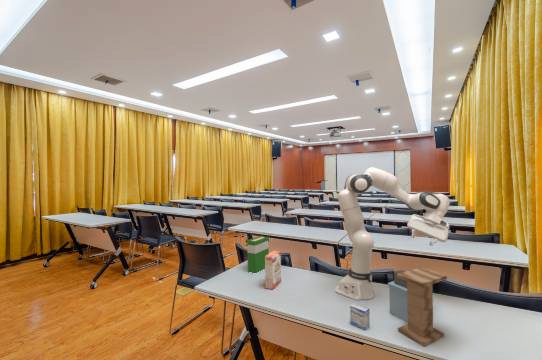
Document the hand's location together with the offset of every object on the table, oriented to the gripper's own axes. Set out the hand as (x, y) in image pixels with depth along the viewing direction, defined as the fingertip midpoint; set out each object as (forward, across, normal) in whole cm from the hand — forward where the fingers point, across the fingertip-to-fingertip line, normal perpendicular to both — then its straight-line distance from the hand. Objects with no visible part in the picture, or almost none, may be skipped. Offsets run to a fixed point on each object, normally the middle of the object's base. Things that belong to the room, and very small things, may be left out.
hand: (421, 241), depth 142 cm
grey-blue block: (+38, +9, 0) cm, 39 cm away
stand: (+42, +18, -13) cm, 48 cm away
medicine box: (+56, -4, -20) cm, 59 cm away
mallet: (+22, +6, -4) cm, 23 cm away
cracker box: (+69, -62, -5) cm, 93 cm away
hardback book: (+70, -90, +11) cm, 114 cm away
